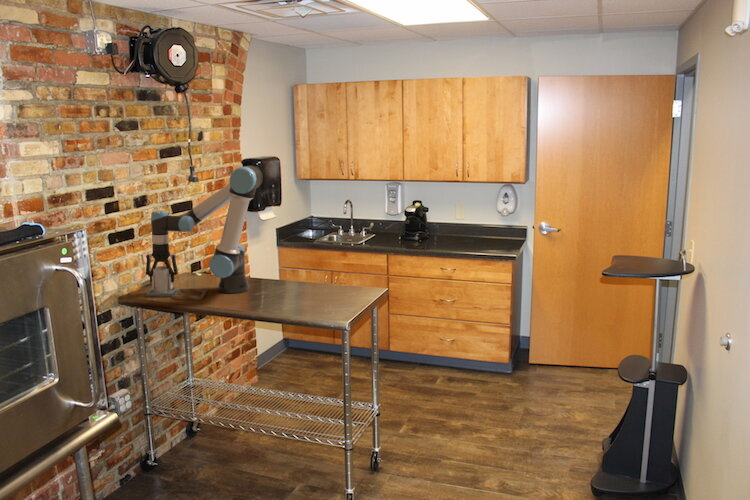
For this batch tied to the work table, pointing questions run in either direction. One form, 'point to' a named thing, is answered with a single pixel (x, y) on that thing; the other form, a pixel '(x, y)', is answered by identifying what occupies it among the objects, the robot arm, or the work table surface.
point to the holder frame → (190, 296)
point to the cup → (161, 279)
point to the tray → (170, 294)
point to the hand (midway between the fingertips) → (162, 288)
